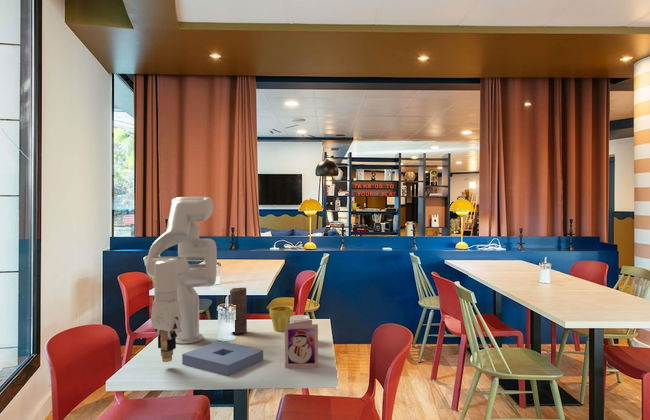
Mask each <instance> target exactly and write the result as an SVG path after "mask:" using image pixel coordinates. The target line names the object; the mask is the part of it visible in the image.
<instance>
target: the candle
mask: <svg viewBox="0 0 650 420" xmlns="http://www.w3.org/2000/svg"><path fill="white" fill-rule="evenodd" d="M230 304H233V305H236V320H235V333H234V334H242V333H247V332H248V329H247V328H248V323H247V321H248V320H247V319H248V317H247V315H248V314H247V312H248V311H247V287H232V288H231V289H229V305H230Z"/></svg>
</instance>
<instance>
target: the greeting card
mask: <svg viewBox="0 0 650 420" xmlns="http://www.w3.org/2000/svg"><path fill="white" fill-rule="evenodd" d="M284 368H285V369H292V368H295V369H297V368H299V369H300V368H301V369H302V368H304V369H306V368H308V369H309V368H313V369H315V368H317V369H318V368H319V324H317V323H315V324H313V319H309V320H307V321H301V322H296V323H291V324H286V325H285V331H284Z"/></svg>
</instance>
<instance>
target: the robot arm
mask: <svg viewBox="0 0 650 420" xmlns="http://www.w3.org/2000/svg"><path fill="white" fill-rule="evenodd" d="M213 201H214V200H212V198H211V197H209V196H179V197H178V196H177V197H174V198H172V200H171V202H170V210H169V214H168V220H167V224H166V229H165V232H164V233H163V234H161V235H160V236H158V238H157V239H156V240H154V242H153V243H152V245H151V246H150V247H149V250H148V254H147V259H146V264H145V271H146V275H148V276H149V277H150V278H153V279H154V283H153V285H154V286H153V287H154V289H153V290H154V299H153V301H152V307H151V316H150V317H151V319H150V320H151V321H150V322H151V323H150V324H151V327H152V328H153V329H154V330H155V332H156V337H157V348H158V349H161V330H163V331H167V332H168V338H169V339H167V350H168V351H170V350H173V351H174V350H176V348H177V344H178V345H179V344H180V345H182V344H185V345H186V344H193V343H198V342H199V341H202V340H203V339H204V335H203V334H202V333H200V296H199V294H198V292H197V291H196V290H195V288H199V287H200V288H203V287H204V288H207V287H213V286H214V285H215V284H216V281H217V263H218V262H217V261H218V260H217V259H218V256H217V255H218V252H217V244H216V241H215V240H214V239H212V238H200V225H199V224H198V223H197V222H205V221H207V220H209V218H210V217H211V216H212V214H213V213H214V207H215V206H214V202H213ZM176 245H177V256H169V255H168V256H160V255H161V254H162V253H163V252H164V251H165V250H167V249H169V248H171V247H173V246H176ZM189 262H204V263H189ZM171 331H173V333H172V334H171Z"/></svg>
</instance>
